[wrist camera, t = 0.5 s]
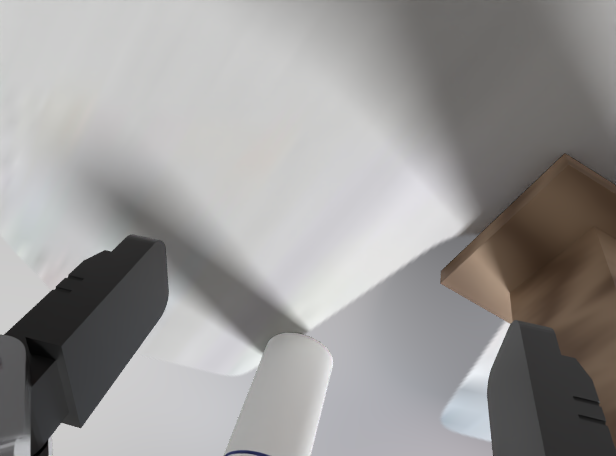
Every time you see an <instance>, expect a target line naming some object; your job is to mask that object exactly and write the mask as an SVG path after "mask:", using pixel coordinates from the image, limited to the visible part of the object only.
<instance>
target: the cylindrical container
mask: <svg viewBox="0 0 616 456" xmlns="http://www.w3.org/2000/svg"><path fill="white" fill-rule="evenodd" d="M332 367H333V359H332V355H331V354H330V353H329V351H328V350H327V348H326V347H325V346H324V345H323V344H321V343H320V342H319V341H317V340H315V339H313V338H311V337H309V336H306V335H303V334H298V333H281V334H278V335H276V336H274V337H272V338H271V339H270V340H269V342H268V343H267V346H266V348H265V351H264V353H263V356H262V359H261V361H260V364H259V366H258V369H257V371H256V374H255V376H254V379H253V382H252V384H251V387H250V389H249V392H248V394H247V397H246V400H245V402H244V405H243V407H242V410H241V413H240V415H239V418H238V420H237V423H236V425H235V428H234V430H233V433H232V436H231V438H230V441H229V443H228V446H227V448H226V451H225V453H224V456H310V455H311V451H312V447H313V443H314V439H315V435H316V431H317V427H318V423H319V419H320V415H321V411H322V407H323V403H324V399H325V395H326V391H327V386H328V382H329V379H330V374H331V370H332Z"/></svg>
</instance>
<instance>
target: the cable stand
mask: <svg viewBox="0 0 616 456" xmlns="http://www.w3.org/2000/svg"><path fill="white" fill-rule="evenodd" d="M441 284H442V285H444V286H446V287H448V288H449V289H451V290H453V291H455V292H456V293H458V294H460V295H461V296H463V297H465V298H467V299H468V300H470V301H472V302H474V303H475V304H477V305H479V306H481V307H482V308H484V309H486V310H488V311H489V312H491V313H493V314H495V315H496V316H498V317H500V318H502V319H503V320H505V321H507V322H508V323H510V324H511V323H512V322H513V321H514V320H519V321H523V322H528V323H532V324H537V325H541V326H546V327H550V328H552V329H553V330H554V332H555V334H556V338H557V342H558V345H559V349H560V352H561V355H564V356H568V357H573V358H576V360H577V361H578V362H579V363H580V365H581V366H582V367H583V368H584V370H585V371H586V372H587V374H588V375H589V376H590V377H591V379H592V380H593V383H594V386H595V389H596V392H597V395H598V398H599V401H600V404H599V406H600V407H602V410H603V413H604V416H605V419H606V426H608V428H609V431H610V434H611V437H612V440H613V443H614V446H615V449H616V185H615V184H613V183H611V182H610V181H608V180H607V179H605V178H604V177H602V176H600V175H599V174H597V173H596V172H594V171H592V170H591V169H589V168H588V167H586V166H584V165H583V164H581V163H580V162H578V161H577V160H575V159H573V158H572V157H570V156H569V155H567V154H564V155H563V156H562V157H560V158H559V159H558V160H557V161H556V162H555V163H554V164H553V165H552V166H551V167H550V168H549V169H548V170H547V171H546V172H545V173H544V174H543V175H542V176H540V177H539V178H538V179H537V180H536V181H535V182H534V183H533V184H532V185H531V186H530V187H529V188H528V189H527V190H526V191H525V192H524V193H523V194H522V195H520V196H519V197H518V198H517V199H516V200H515V201H514V202H513V203H512V204H511V205H510V206H509V207H508V208H507V209H506V210H505V211H504V212H503V213H502V214H500V215H499V216H498V217H497V218H496V219H495V220H494V221H493V222H492V223H491V224H490V225H489V226H488V227H487V228H486V229H485V230H484V231H483V232H482V233H480V234H479V235H478V236H477V237H476V238H475V239H474V240H473V241H472V242H471V243H470V244H469V245H468V246H467V247H466V248H465V249H464V250H463V251H462V252H460V253H459V254H458V255H457V256H456V257H455V258H454V259H453V260H452V261H451V262H450V263H449V264H448V265H447V266H446V267H445V268H444V269H443V270H442V271H441Z"/></svg>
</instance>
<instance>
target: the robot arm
mask: <svg viewBox="0 0 616 456" xmlns="http://www.w3.org/2000/svg"><path fill="white" fill-rule="evenodd" d="M168 294H169V289H168V275H167V261H166V248H165V244H164V243H163V242H162V241H160V240H155V239H151V238H146V237H142V236H137V235H129V236H127V237H126V238H125V239H124V240H123V241H122V242H121V243H120V244H119V245H118V246H117V247H116V248H115V249H114V250H113V251H112V252H110V251H106V250H104V251H102V252H100V253H98V254H96V255H94V256H92V257H90V258H88V259H86V260H84V261H83V262H82V263H81V264H80V265H79V266H78V267H76V268H75V269H74V270H73V271H72V272H71V273H70V274H69V275H68V278H65V279H64V280H62V281H61V282H60V283H59V284H58V285H57V286H56V289H55V290H52V291H51V292H50V293H48V294H47V295H46V296H45V297H44V298H43V299H42V300H41V301H40V302H39V303H38V304H37V305H36V306H35V307H33V309H32V310H30V311H29V312H28V313H27V314H26V315H25V316H24V317H23V318H22V319H21V320H20V321H18V322H17V323H16V324H15V325H14V326H13V327H12V328H11V329H10V330H9V331H8V332H7V333H6V334H4V335H0V456H53V443H52V438H51V435H52V434H53V433H54V431H55V430H56V429H57V427H58V426H59V425H60V423H65V424H68V425H72V426H75V427H79V428H81V427H82V426H83V425H84V423H85V422H86V420H87V419H88V418H89V416H90V415H91V413H92V412H93V411H94V409H95V408H96V406H97V405H98V404H99V402H100V401H101V399H102V398H103V397H104V395H105V394H106V393H107V391H108V390H109V388H110V387H111V386H112V384H113V383H114V381H115V380H116V379H117V377H118V376H119V375H120V373H121V372H122V370H123V369H124V368H125V366H126V365H127V363H128V362H129V361H130V359H131V358H132V357H133V355H134V354H135V352H136V351H137V350H138V348H139V347H140V345H141V344H142V343H143V341H144V340H145V338H146V337H147V336H148V334H149V333H150V332H151V330H152V329H153V327H154V326H155V325H156V323H157V322H158V320H159V319H160V318H161V316H162V314H163V312H164V310H165V308H166V305H167V301H168ZM487 399H488V409H489V419H490V429H491V439H492V450H493V456H616V449H615V446H614V443H613V440H612V437H611V434H610V431H609V428H608V426H606V419H605V416H604V413H603V410H602V407H600V406H599V404H600V401H599V398H598V395H597V392H596V389H595V386H594V383H593V380H592V379H591V377H590V376H589V375H588V374H587V372H586V371H585V370H584V368H583V367H582V366H581V365H580V363H579V362H578V361H577V360H576V358H573V357H568V356H564V355H561V352H560V349H559V345H558V342H557V338H556V334H555V332H554V330H553V329H552V328H550V327H546V326H541V325H537V324H532V323H528V322H523V321H519V320H514V321H513V322H512V323H511V325H510V326H509V329H508V331H507V333H506V336H505V338H504V340H503V343H502V345H501V347H500V350H499V352H498V354H497V357H496V359H495V361H494V364H493V366H492V368H491V371H490V375H489V380H488V388H487Z"/></svg>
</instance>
